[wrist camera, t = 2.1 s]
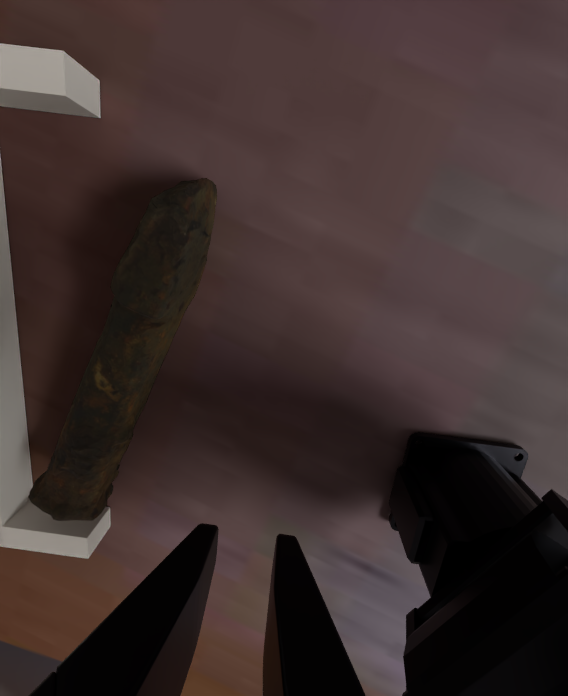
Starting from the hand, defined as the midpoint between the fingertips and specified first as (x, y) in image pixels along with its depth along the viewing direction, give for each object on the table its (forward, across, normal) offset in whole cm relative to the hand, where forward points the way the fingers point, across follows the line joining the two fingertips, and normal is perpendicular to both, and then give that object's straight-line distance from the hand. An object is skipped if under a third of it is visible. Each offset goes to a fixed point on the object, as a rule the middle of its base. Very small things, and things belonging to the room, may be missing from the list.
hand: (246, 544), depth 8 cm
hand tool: (+12, +8, 0) cm, 15 cm away
